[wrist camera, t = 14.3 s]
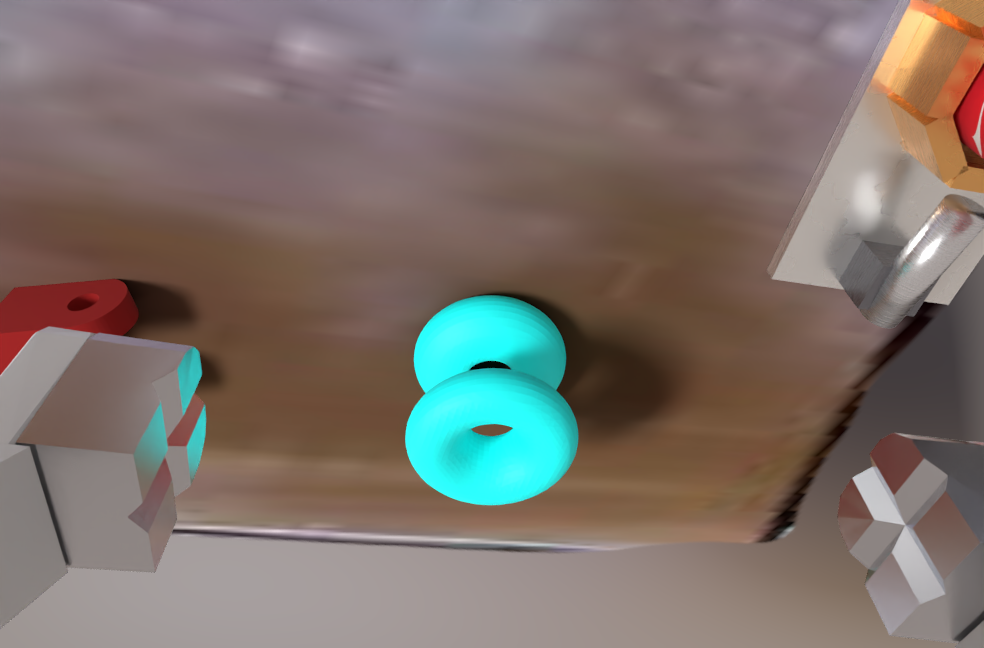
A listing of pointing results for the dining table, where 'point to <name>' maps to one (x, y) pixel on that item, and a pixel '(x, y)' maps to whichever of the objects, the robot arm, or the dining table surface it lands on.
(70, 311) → the mechanical linkage
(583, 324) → the dining table surface
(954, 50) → the coupling base
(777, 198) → the dining table surface
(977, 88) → the beverage can
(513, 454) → the donuts
